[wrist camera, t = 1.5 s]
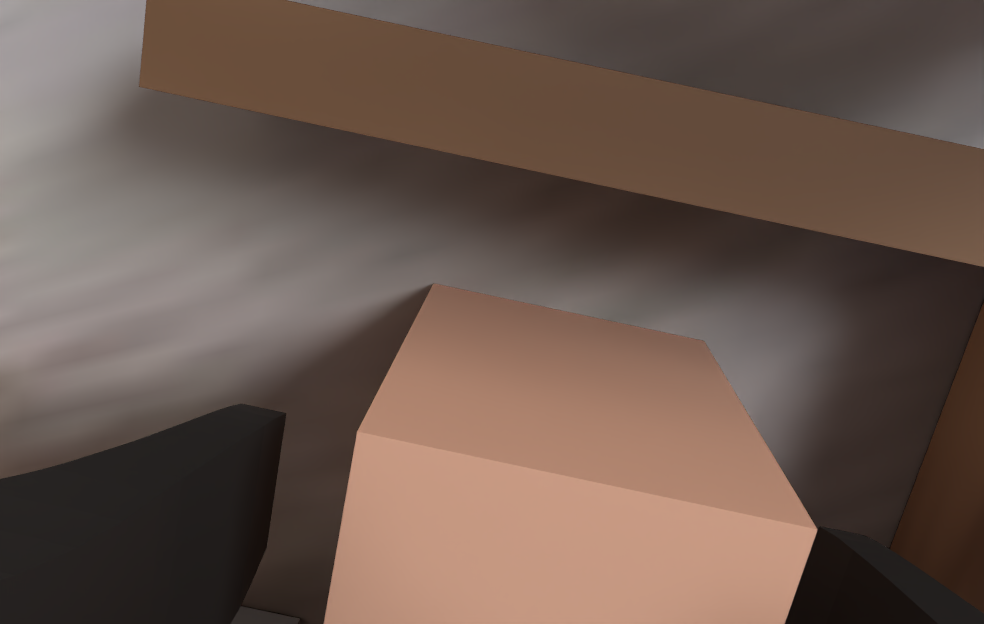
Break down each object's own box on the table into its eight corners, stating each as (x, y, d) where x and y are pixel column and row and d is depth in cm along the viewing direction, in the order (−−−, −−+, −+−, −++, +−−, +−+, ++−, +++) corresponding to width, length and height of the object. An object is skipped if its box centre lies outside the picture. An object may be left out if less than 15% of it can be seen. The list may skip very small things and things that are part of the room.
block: (635, 576, 15) (692, 884, 9) (387, 523, 15) (292, 800, 9) (704, 340, 14) (817, 529, 8) (433, 283, 14) (356, 431, 8)
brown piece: (859, 806, 16) (957, 1035, 12) (184, 663, 16) (73, 849, 12) (1113, 182, 13) (1357, 229, 9) (267, 1, 13) (149, -30, 9)
